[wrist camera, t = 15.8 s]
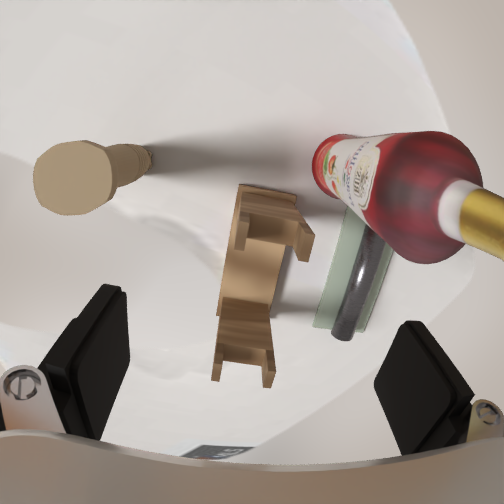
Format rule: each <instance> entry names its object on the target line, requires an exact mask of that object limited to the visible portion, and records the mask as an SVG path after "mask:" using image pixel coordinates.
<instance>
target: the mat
mask: <svg viewBox="0 0 504 504" xmlns="http://www.w3.org/2000/svg"><path fill="white" fill-rule="evenodd" d="M365 225H366V223H365V222H364V221H363V220H362V219H361V218H360V217H359V216H358V215H357V214H356V213H355V212H354V211H353V210H352V209H351V208H350V207H349V206H347V210H346V213H345V217H344V221H343V225H342V229H341V232H340V236H339V240H338V243H337V247H336V250H335V254H334V257H333V261H332V264H331V268H330V271H329V275H328V278H327V281H326V285H325V288H324V291H323V294H322V298H321V301H320V304H319V307H318V310H317V313H316V316H315V319H314V323H313V327H315V328H323V329H332V328H333V325H334V322H335V319H336V317H337V314H338V311H339V308H340V305H341V302H342V299H343V296H344V293H345V290H346V287H347V284H348V281H349V278H350V275H351V272H352V269H353V265H354V262H355V259H356V256H357V252H358V249H359V246H360V242H361V239H362V235H363V232H364V228H365ZM392 251H393V249H392V248H391V247H390V246H389V245H388V244H387V243H386V245H385V248H384V251H383V254H382V258H381V261H380V264H379V267H378V270H377V273H376V276H375V279H374V282H373V284H372V287H371V290H370V293H369V296H368V299H367V301H366V304H365V307H364V309H363V312H362V315H361V317H360V320H359V322H358V325H357V328H356V330H355V332H360V333H363V331H364V329H365V326H366V324H367V321H368V319H369V316H370V314H371V311H372V308H373V306H374V303H375V300H376V298H377V295H378V292H379V289H380V287H381V284H382V281H383V278H384V275H385V272H386V269H387V267H388V264H389V261H390V257H391V254H392Z"/></svg>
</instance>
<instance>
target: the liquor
mask: <svg viewBox="0 0 504 504" xmlns="http://www.w3.org/2000/svg"><path fill="white" fill-rule="evenodd" d="M312 172H313V176H314V179H315V181H316V183H317V185H318V186H319V188H320V189H321V190H322V191H323V192H324V193H326V194H327V195H329V196H331V197H333V198H336V199H341V200H342V201H343V202H344V203H345V204H347V205H348V206H349V207H350V208H351V209H352V210H353V211H354V212H355V213H356V214H357V215H358V216H359V217H360V218H361V219H362V220H363V221H364V222H365V223H366V224H367V225H368V226H369V227H370V228H371V229H372V230H374V231H375V232H376V233H377V234H378V235H379V236H380V237H381V238H382V239H383V240H384V241H385V242H386V243H387V244H388V245H389V246H390V247H391V248H392V249H393V250H394V251H395V252H396V253H397V254H399V255H400V256H402V257H403V258H405V259H406V260H409V261H412V262H415V263H419V264H432V263H438V262H440V261H443V260H446V259H448V258H449V257H451V256H452V255H454V254H456V253H457V252H458V251H459V250H460V249H461V248H462V247H463V246H464V245H465V244H468V245H470V246H473V247H475V248H477V249H480V250H482V251H484V252H487V253H489V254H491V255H493V256H495V257H497V258H500V259H502V260H503V261H504V198H502V197H501V196H499V195H497V194H494V193H493V192H491V191H488V190H486V189H484V188H483V182H482V176H481V172H480V169H479V166H478V164H477V162H476V160H475V158H474V156H473V155H472V153H471V152H470V150H469V149H468V148H467V147H466V146H465V145H464V144H463V143H462V142H461V141H460V140H458V139H457V138H455V137H453V136H452V135H449V134H446V133H443V132H437V131H424V132H409V133H392V134H385V135H378V136H371V137H361V138H357V137H355V136H352V135H348V134H338V135H334V136H331V137H329V138H327V139H326V140H324V141H323V142H322V143H321V144H320V145H319V147H318V148H317V150H316V152H315V154H314V157H313V161H312Z"/></svg>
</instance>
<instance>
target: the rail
mask: <svg viewBox="0 0 504 504" xmlns="http://www.w3.org/2000/svg"><path fill="white" fill-rule="evenodd" d="M385 245H386V242H385V241H384V240H383V239H382V238H381V237H380V236H379V235H378V234H377V233H376V232H375V231H374V230H372V229H371V228H370V227H369V226H368V225H367V224H366V225H365V228H364V232H363V235H362V239H361V242H360V246H359V249H358V252H357V256H356V259H355V262H354V265H353V269H352V272H351V275H350V278H349V281H348V284H347V287H346V290H345V293H344V296H343V299H342V302H341V305H340V308H339V311H338V314H337V317H336V319H335V322H334V325H333V328H332V331H331V334H332V335H333V336H334V337H335V338H336V339H338V340H341V341H350V340H352V338H353V335H354V333H355V330H356V328H357V325H358V322H359V320H360V317H361V315H362V312H363V309H364V307H365V304H366V301H367V299H368V296H369V293H370V290H371V287H372V284H373V282H374V279H375V276H376V273H377V270H378V267H379V264H380V261H381V258H382V254H383V251H384V248H385Z"/></svg>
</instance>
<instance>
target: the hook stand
mask: <svg viewBox="0 0 504 504" xmlns="http://www.w3.org/2000/svg"><path fill="white" fill-rule="evenodd" d="M296 198H297V196H296V195H294V194H289V193H284V192H279V191H274V190H269V189H263V188H258V187H253V186H247V185H242V184H239V187H238V192H237V198H236V203H235V209H234V214H233V220H232V225H231V231H230V236H229V242H228V248H227V253H226V259H225V265H224V271H223V277H222V283H221V289H220V295H219V301H218V307H217V313H216V316H220V317H219V324H218V331H217V339H216V346H215V354H214V362H213V369H212V377H211V381H218V382H219V380H220V375H221V369H222V364H223V361H229V362H236V363H243V364H250V365H258V366H262V381H263V388H271V386H272V383H273V380H274V377H275V374H276V367H275V358H274V350H273V342H272V334H271V326H270V318H269V312H270V308H271V304H272V300H273V296H274V292H275V288H276V283H277V279H278V275H279V271H280V267H281V263H282V259H283V254H284V250H285V246H286V245H287V246H293V249H294V251H295V253H296V256H297V258H298V261H303V262H308V261H309V257H310V253H311V250H312V246H313V242H314V238H315V234H314V233H313V231H312V230H311V228H310V227H309V225H308V224H307V223H306V221H305V220H304V218H303V217H302V215H301V214H300V213H299V211H298V210H297V208H296V207H295V203H296Z"/></svg>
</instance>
